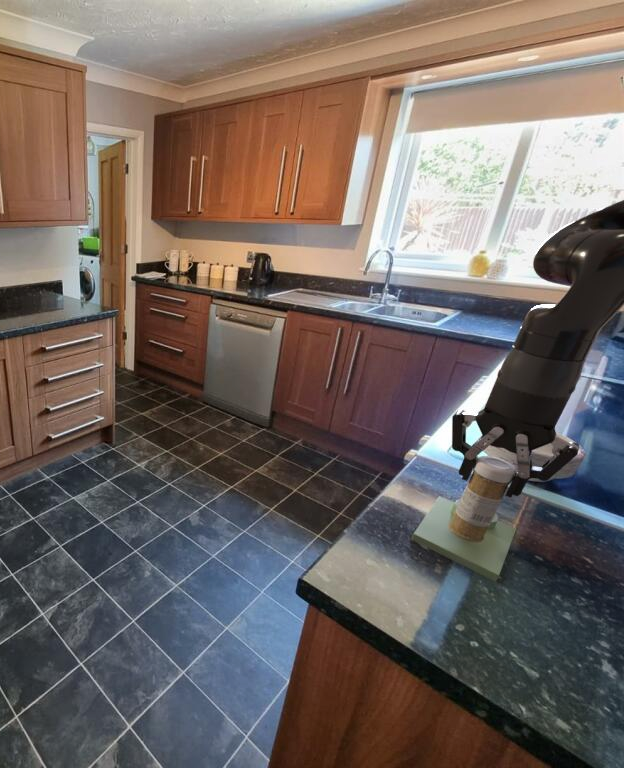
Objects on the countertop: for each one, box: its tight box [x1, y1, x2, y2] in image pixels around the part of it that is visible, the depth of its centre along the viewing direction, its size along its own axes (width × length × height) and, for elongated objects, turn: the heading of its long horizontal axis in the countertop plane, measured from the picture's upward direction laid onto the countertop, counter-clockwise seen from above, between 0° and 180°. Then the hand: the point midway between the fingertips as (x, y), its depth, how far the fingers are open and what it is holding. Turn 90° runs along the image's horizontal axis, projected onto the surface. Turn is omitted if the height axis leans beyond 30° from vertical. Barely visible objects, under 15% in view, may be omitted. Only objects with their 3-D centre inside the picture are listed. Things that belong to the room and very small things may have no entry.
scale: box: [411, 495, 517, 582], centre depth 70 cm, size 16×11×3 cm
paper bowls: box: [483, 431, 587, 483], centre depth 88 cm, size 15×15×8 cm
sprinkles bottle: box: [449, 455, 517, 542], centre depth 65 cm, size 5×5×14 cm
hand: (486, 485), depth 64 cm, fingers closed on sprinkles bottle, 4 cm apart
